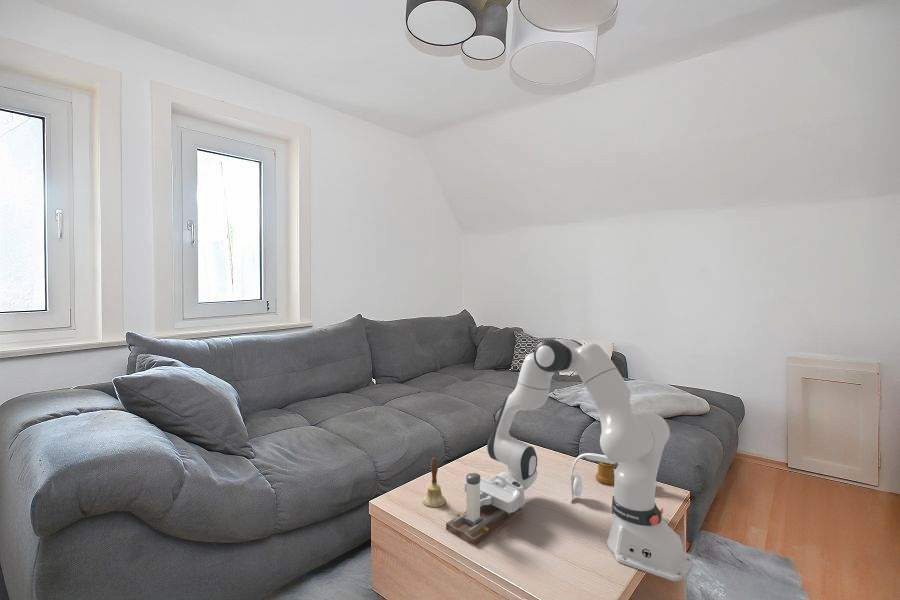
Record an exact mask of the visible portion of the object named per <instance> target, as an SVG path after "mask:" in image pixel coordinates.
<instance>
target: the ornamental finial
mask: <svg viewBox="0 0 900 600" xmlns="http://www.w3.org/2000/svg"><path fill="white" fill-rule="evenodd" d="M597 467H598V469H597V473H596V475H595V478H596V479H595V480H596V481H597V482H598V483H600V484H602V485H605V486H606V485H607V486H609V485H610V486H611V485H614V477H615V465H614V464H610V463H606V462H601V461H598V466H597Z"/></svg>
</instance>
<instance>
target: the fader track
mask: <svg viewBox="0 0 900 600" xmlns="http://www.w3.org/2000/svg"><path fill="white" fill-rule="evenodd" d="M522 511H523V509H522V506H521V507H520V508H519V509H518V510H516V511H515V512H513V513H508V512H506V511H504V510H502V509H500V508H498V507H496V506H493V505H491V504H490V505H483V506H481V507H480V517H481V518H483V520H482V521H481V522H479V523H478V524H476V525H475V526H471V525H470V524H468V523H466V522H464V521H463V517H465V516H467V510H466V511H465V512H463V513H461V512H460V513H458V514H457V516H456V517H454V518H452V519H451V520H449V521H447V522H446V523H445V529H446V530H447V531H448V532H450V533H451V534H453V535H455V536H457V537H459V538H461V539H462V540H463V541H466V542H467V543H469V544H471V545H472V546H475V547H476V546H477V545H478V544H480V543H481V542H482V541H484V540H485V539H487V538H488V537H490V536H492V535H493V534H495V533H496V532H497V531H499V530H500V529H502V528H503V527H504V526H506V525H507V524H509V523H511V522H512V521H513V520H515V519H516V518H518V517H519V516H520V515H522V514H523V512H522Z"/></svg>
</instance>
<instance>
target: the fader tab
mask: <svg viewBox="0 0 900 600" xmlns="http://www.w3.org/2000/svg"><path fill="white" fill-rule="evenodd" d="M480 477H481V475H480V474H478V473H476V472H471V473H470V472H469V473H468V474H466V476H465V481H466V482H467V493H466V511H467V516H465V517H463V521H464V522H466V523H468V524H470V525H471V526H475V525H476V524H478V523H479V522H481V521H482V520H483V518H481V517H480Z"/></svg>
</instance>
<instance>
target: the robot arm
mask: <svg viewBox="0 0 900 600" xmlns="http://www.w3.org/2000/svg"><path fill="white" fill-rule="evenodd" d="M569 372H575V373H577V375H578V376H579V378H580V380H581V381H582V383H583V384H584V387H585V388H586V390H587V392H588V394H589V395H590V397H591V399H592V401H593V403H594V405H595V407H596V410H597V413H598V416H599V419H600V427H601V431H600V433H601V434H600V438H599V446H600V448H601V450H602V453H603V455H605V456H606V457H607V458H609V459H610V460H611V461H613V462H616V463H615V464H617V465H616V469H614V475H615V477H614V484H613V485H614V486H613V488H614V489H613V496H612V501H611V514H612V518H611V519H612V520H611V526H610V530H609V533H608V534H609V535H608V537H607V540H606V544H607V546H608V549H610V551H611V552H612V553H613V554H614V558H615V560H616V561H617V562H618V563H620V564H623V565H626V566H629V567H631V568H634V569H638V570H640V571H643V572H646V573H647V574H648V573H649V574H652V575H655V576H658V577H660V578H663V579H666V580H669V581H672V582H677V581H678V582H679V581H682V580H684V579H685V578H687V576H689V574H691V572H692V569H693V566H694V565H693V564H694V563H693V559H692V558H693V557H692V556H691V554H690V553H687V551H684V546H683V541H682V539H681V537H680V535H679V534H677V532H675V531H674V529H672V528H671V527H670V526H669V525H668V524H667V523H666V522H665V520H663V519H662V518H663V516H662V515H663V513H664V508H663V507H662V508H661V509H659V507H658V506H657V504H656V490H655V486H656V482H657V477H658V476H657V475H658V470H659V467H660V464H661V460H662V455H663V454H664V453H663V452H664V448H665V447H666V444H667V442H668V441H669V438H670V433H671V430H670V427H669V425H668V423H667V421H666V420H665V419H664V418H663V417H662V416H661V415H659V414H657V413H654V412H653V413H652V412H645V413H644V412H643V413H638V414H634V412H633V408H632V406H631V396H632V393H631V390H630V387H629V386H628V384H627V383H626V381H625V379H624V377H623V376H622V374H621V373H620V371H619V369H618V368H617V366H616V365H615V362H613V360H612V359H611V357H609V355H608V353H606V352H605V350H604V349H603V348H602V347H601V346H600V345H599V344H597V343H593V342H590V343H585V344H582V343H581V342H579V341H577V340H574V339H564V338H555V339H554V338H553V339H552V338H551V339H545V340H542V341H540V342H539V343H538V344H537V345H536V346H535V349H534V350H533V352H531V353H528V354H527V355H526V356H525V358H524V360H523V362H522V364H521V367H520V371H519V374H518V379H517V382H516V386H515V388H514V390H513V391H511V392H509V393H508V394H507V395H506V397H505V399H504V401H503V404H502V406H501V409H500V412H499V413H498V416H497V420H496V423H495V426H494V428H493V431H492V432H491V434H490V437H489V438H488V440H487V444H486V449H487V453H488V456H489V457H490V459H492V460H494V461H496V462H498V463H502V464H504V465H505V466H507V469H506V470H502V472H499V473H498V474H495V475H493V476H492V477H491V479H488V478H485V477H483V476H480V507H481V506H483V505H490V504H491V505H493V506H496V507H498V508H500V509H502V510H504V511H506V512H508V513H513V512H515V511H516V510H518V509H519V508H520V507H521V508H522V507H523V506H524V504H525V491H526V490H527V489H529V488H530V487H531V486H532V485H533V484H534V483H535V482H536V480H537V478H538V469H537V466H538V456H537V453H536V450H535V447H534V446H531V445H530V444H528V443H526V442H524V441H521V440H520V439H517V438H514V437H513V436H511V434H510V432H509V431H510V429H511V426H512V423H513V421H514V417H515V415H516V413H517V412H518V411H533V410H537V409H540V408H541V407H543V406H544V405H545V404H546V402H547V401H548V398H549V393H550V387H551V382H552V378H553V376H554V375H555V374H556V373H562V374H563V373H569ZM618 463H619V464H618ZM464 492H465V493H466V494H467V482H466V480H465V481H464Z"/></svg>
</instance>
